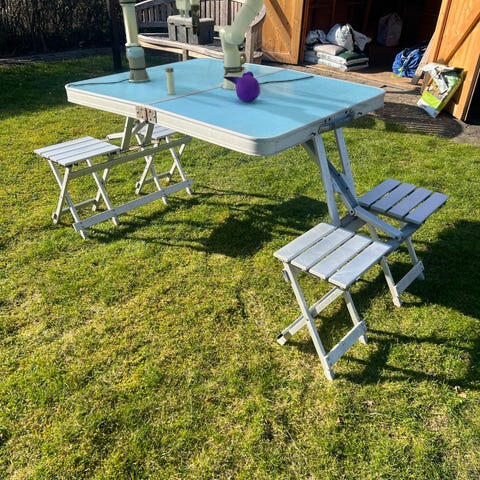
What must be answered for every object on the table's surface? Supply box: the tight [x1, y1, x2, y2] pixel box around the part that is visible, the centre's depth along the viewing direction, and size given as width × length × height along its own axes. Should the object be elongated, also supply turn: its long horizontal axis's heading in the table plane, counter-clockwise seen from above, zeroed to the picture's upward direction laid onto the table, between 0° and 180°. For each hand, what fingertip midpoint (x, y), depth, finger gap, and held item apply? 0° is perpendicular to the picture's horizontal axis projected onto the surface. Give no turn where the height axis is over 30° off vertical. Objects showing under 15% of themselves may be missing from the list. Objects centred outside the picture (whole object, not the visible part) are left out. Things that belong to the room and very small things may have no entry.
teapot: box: [222, 52, 247, 67], centre depth 367 cm, size 21×12×15 cm, turn 120°
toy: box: [223, 71, 261, 103], centre depth 276 cm, size 16×18×27 cm
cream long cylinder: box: [165, 71, 176, 96], centre depth 296 cm, size 4×4×16 cm
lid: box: [165, 66, 175, 73], centre depth 292 cm, size 5×5×2 cm
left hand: (196, 35), depth 349 cm, fingers open, 13 cm apart
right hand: (184, 18), depth 279 cm, fingers open, 8 cm apart
